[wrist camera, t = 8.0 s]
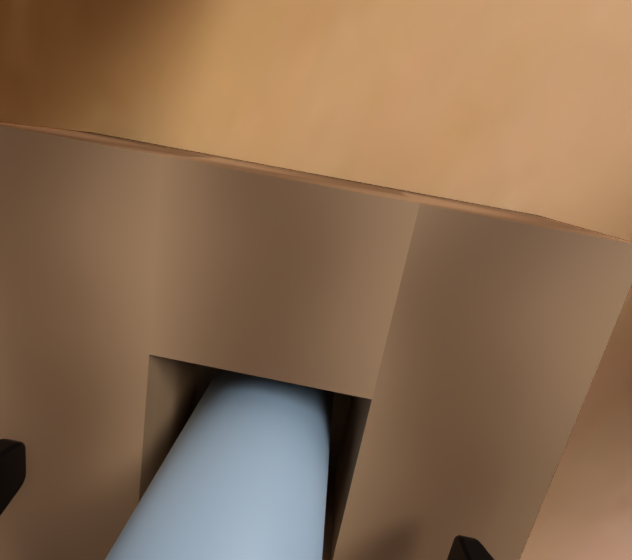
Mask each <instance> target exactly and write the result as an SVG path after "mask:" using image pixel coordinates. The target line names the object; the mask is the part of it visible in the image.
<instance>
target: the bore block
mask: <svg viewBox="0 0 632 560" xmlns="http://www.w3.org/2000/svg"><path fill="white" fill-rule="evenodd" d="M631 285H632V242H630V241H626V240H623V239H619V238H616V237H612V236H609V235H605V234H602V233H598V232H595V231H591V230H588V229H584V228H581V227H577V226H574V225H570V224H567V223H563V222H560V221H556V220H553V219H549V218H546V217H542V216H538V215H533V214H527V213H522V212H517V211H511V210H506V209H501V208H495V207H490V206H484V205H479V204H474V203H468V202H463V201H457V200H452V199H447V198H441V197H436V196H431V195H425V194H420V193H414V192H409V191H404V190H398V189H393V188H387V187H382V186H377V185H371V184H366V183H361V182H355V181H350V180H344V179H339V178H334V177H328V176H323V175H318V174H312V173H307V172H301V171H296V170H291V169H285V168H280V167H274V166H269V165H264V164H258V163H253V162H248V161H242V160H237V159H231V158H226V157H221V156H215V155H210V154H205V153H199V152H194V151H188V150H183V149H178V148H172V147H167V146H161V145H156V144H151V143H145V142H140V141H135V140H129V139H124V138H118V137H113V136H108V135H102V134H97V133H90V132H82V131H73V130H64V129H55V128H47V127H38V126H29V125H20V124H12V123H3V122H0V439H11V440H16V441H20V442H22V443H24V445H25V447H26V477H25V480H24V483H23V485H22V486H21V488H20V489H19V491H18V492H17V494H16V495H15V496H14V498H13V499H12V500H11V502H10V503H9V505H8V506H7V507H6V509H5V510H4V511H3V513H2V514H1V516H0V560H105V558H106V557H107V555H108V553H109V552H110V550H111V548H112V547H113V545H114V543H115V542H116V540H117V538H118V537H119V535H120V533H121V532H122V530H123V528H124V527H125V525H126V523H127V522H128V520H129V518H130V517H131V515H132V513H133V512H134V510H135V508H136V507H137V505H138V503H139V502H140V500H141V498H142V497H143V495H144V493H145V492H146V490H147V488H148V487H149V485H150V483H151V482H152V480H153V478H154V477H155V475H156V473H157V471H158V470H159V468H160V466H161V465H162V463H163V461H164V460H165V458H166V456H167V455H168V453H169V451H170V450H171V448H172V446H173V445H174V443H175V441H176V440H177V438H178V436H179V435H180V433H181V431H182V430H183V428H184V426H185V425H186V423H187V421H188V420H189V418H190V416H191V415H192V413H193V411H194V410H195V408H196V406H197V405H198V403H199V401H200V400H201V398H202V396H203V395H204V393H205V391H206V390H207V388H208V386H209V384H210V383H211V381H212V379H213V378H214V376H215V374H216V373H217V371H218V369H224V370H229V371H233V372H238V373H243V374H248V375H253V376H258V377H263V378H268V379H273V380H278V381H283V382H288V383H293V384H298V385H303V386H308V387H313V388H318V389H322V390H327V391H332V392H333V409H332V423H331V437H330V452H329V466H328V481H327V495H326V509H325V524H324V538H323V553H322V560H447V558H448V555H449V552H450V549H451V546H452V543H453V540H454V538H455V537H456V536H457V535H462V536H467V537H472V538H475V539H477V540H479V541H480V542H481V544H482V545H483V546H484V547H485V548H486V550H487V551H488V552H489V553H490V555H491V556H492V557H493V558H494V560H519V559H520V557H521V554H522V552H523V549H524V547H525V544H526V542H527V539H528V537H529V535H530V532H531V530H532V527H533V525H534V522H535V520H536V517H537V515H538V513H539V510H540V508H541V505H542V503H543V500H544V498H545V495H546V493H547V491H548V488H549V486H550V483H551V481H552V478H553V476H554V473H555V471H556V469H557V466H558V464H559V461H560V459H561V456H562V454H563V451H564V449H565V447H566V444H567V442H568V439H569V437H570V434H571V432H572V429H573V427H574V425H575V422H576V420H577V417H578V415H579V412H580V410H581V407H582V405H583V403H584V400H585V398H586V395H587V393H588V390H589V388H590V385H591V383H592V381H593V378H594V376H595V373H596V371H597V368H598V366H599V363H600V361H601V359H602V356H603V354H604V351H605V349H606V346H607V344H608V341H609V339H610V337H611V334H612V332H613V329H614V327H615V324H616V322H617V319H618V317H619V315H620V312H621V310H622V307H623V305H624V302H625V300H626V297H627V295H628V293H629V290H630V288H631Z"/></svg>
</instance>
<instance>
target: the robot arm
mask: <svg viewBox="0 0 632 560" xmlns="http://www.w3.org/2000/svg"><path fill="white" fill-rule="evenodd" d="M25 477H26V447H25V445H24V443H22V442H20V441H16V440H11V439H0V516H1V514H2V513H3V511H4V510H5V509H6V507H7V506H8V505H9V503H10V502H11V500H12V499H13V498H14V496H15V495H16V494H17V492H18V491H19V489H20V488H21V486H22V485H23V483H24V480H25ZM447 560H494V558H493V557H492V556H491V555H490V553H489V552H488V551H487V550H486V548H485V547H484V546H483V545H482V544H481V542H480V541H479V540H477V539H475V538H472V537H467V536H462V535H457V536H456V537H455V538H454V540H453V543H452V546H451V549H450V552H449V555H448V558H447Z"/></svg>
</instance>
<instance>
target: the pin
mask: <svg viewBox="0 0 632 560" xmlns="http://www.w3.org/2000/svg"><path fill="white" fill-rule="evenodd" d="M332 409H333V392H332V391H327V390H322V389H318V388H313V387H308V386H303V385H298V384H293V383H288V382H283V381H278V380H273V379H268V378H263V377H258V376H253V375H248V374H243V373H238V372H233V371H229V370H224V369H218V371H217V373H216V374H215V376H214V378H213V379H212V381H211V383H210V384H209V386H208V388H207V390H206V391H205V393H204V395H203V396H202V398H201V400H200V401H199V403H198V405H197V406H196V408H195V410H194V411H193V413H192V415H191V416H190V418H189V420H188V421H187V423H186V425H185V426H184V428H183V430H182V431H181V433H180V435H179V436H178V438H177V440H176V441H175V443H174V445H173V446H172V448H171V450H170V451H169V453H168V455H167V456H166V458H165V460H164V461H163V463H162V465H161V466H160V468H159V470H158V471H157V473H156V475H155V477H154V478H153V480H152V482H151V483H150V485H149V487H148V488H147V490H146V492H145V493H144V495H143V497H142V498H141V500H140V502H139V503H138V505H137V507H136V508H135V510H134V512H133V513H132V515H131V517H130V518H129V520H128V522H127V523H126V525H125V527H124V528H123V530H122V532H121V533H120V535H119V537H118V538H117V540H116V542H115V543H114V545H113V547H112V548H111V550H110V552H109V553H108V555H107V557H106V558H105V560H322V553H323V538H324V524H325V509H326V495H327V481H328V466H329V452H330V437H331V423H332Z"/></svg>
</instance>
